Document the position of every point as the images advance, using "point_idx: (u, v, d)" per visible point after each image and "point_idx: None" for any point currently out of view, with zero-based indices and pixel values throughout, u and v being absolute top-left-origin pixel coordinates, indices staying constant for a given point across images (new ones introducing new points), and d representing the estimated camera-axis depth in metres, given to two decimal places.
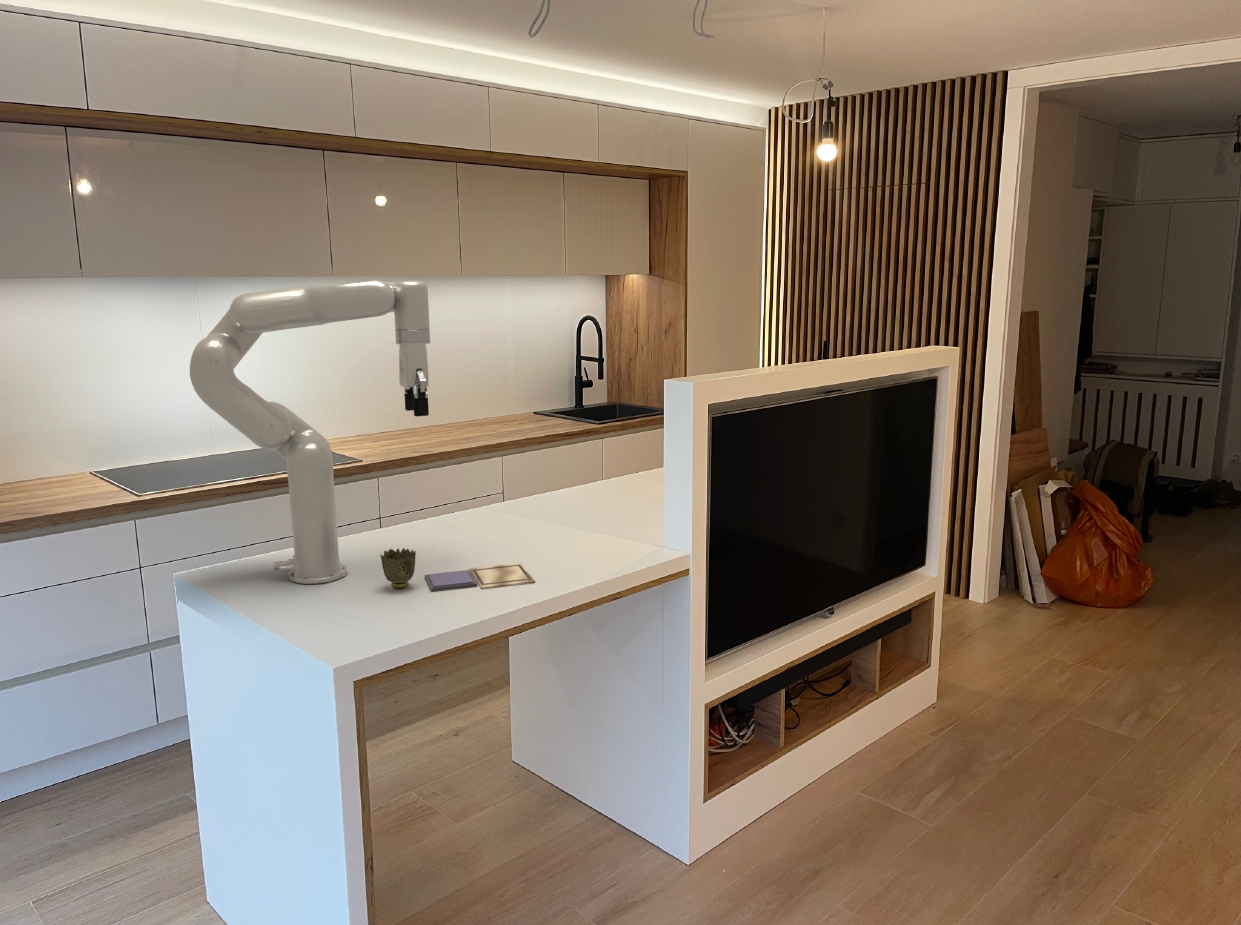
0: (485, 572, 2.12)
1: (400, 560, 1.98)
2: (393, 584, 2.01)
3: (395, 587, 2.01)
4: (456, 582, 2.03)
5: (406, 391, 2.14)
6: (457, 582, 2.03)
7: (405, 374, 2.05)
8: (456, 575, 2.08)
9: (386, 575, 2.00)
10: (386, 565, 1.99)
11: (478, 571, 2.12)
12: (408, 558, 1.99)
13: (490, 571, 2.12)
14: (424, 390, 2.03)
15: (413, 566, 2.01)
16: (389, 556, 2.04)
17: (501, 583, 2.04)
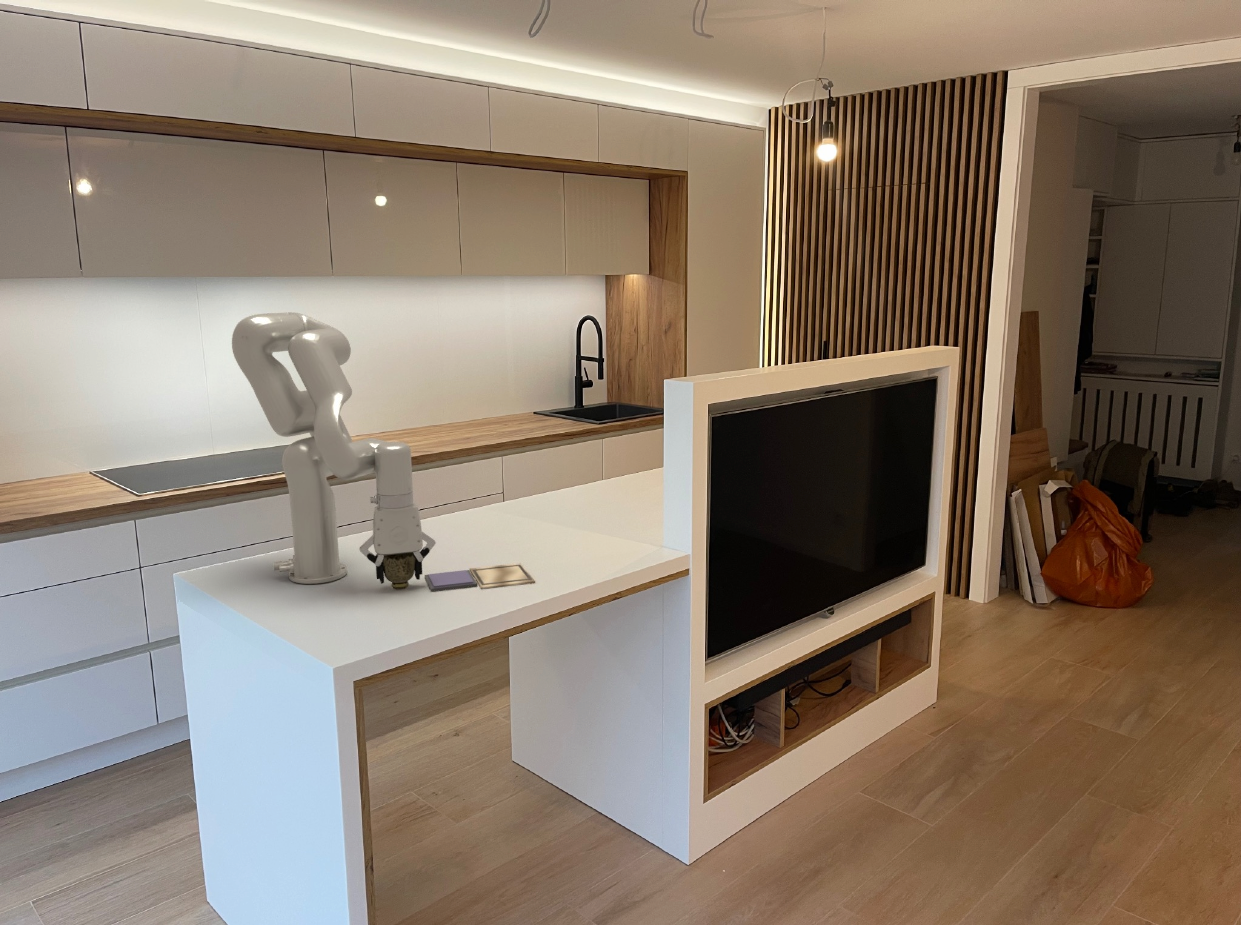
0: (485, 572, 2.12)
1: (400, 560, 1.98)
2: (393, 584, 2.01)
3: (395, 587, 2.01)
4: (456, 582, 2.03)
5: (380, 563, 1.99)
6: (457, 582, 2.03)
7: (414, 537, 1.99)
8: (456, 575, 2.08)
9: (386, 575, 2.00)
10: (386, 565, 1.99)
11: (478, 571, 2.12)
12: (408, 558, 1.99)
13: (490, 571, 2.12)
14: None
15: (413, 566, 2.01)
16: (389, 556, 2.04)
17: (501, 583, 2.04)
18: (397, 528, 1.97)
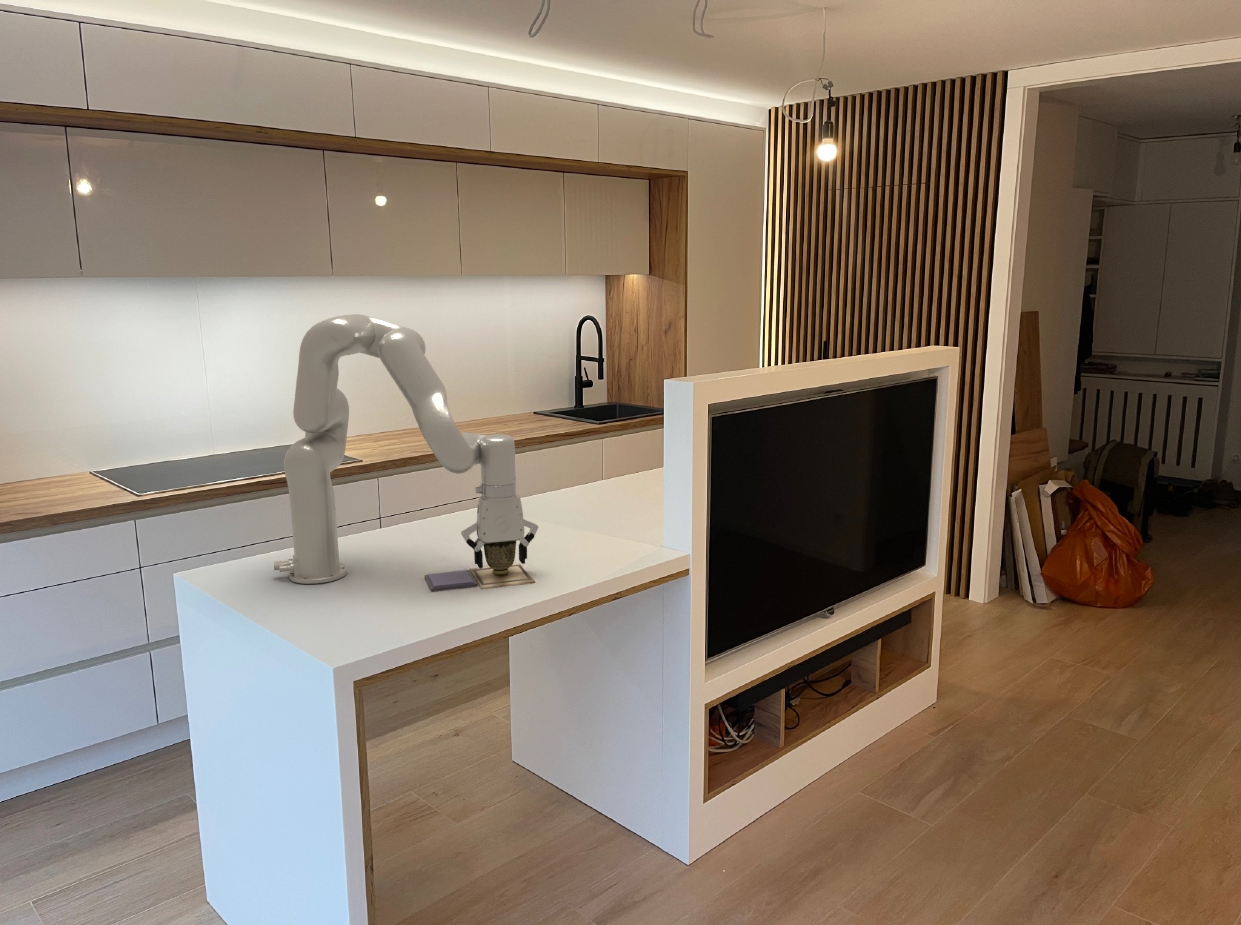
0: (485, 572, 2.12)
1: (503, 547, 2.05)
2: (495, 571, 2.08)
3: (497, 574, 2.08)
4: (456, 582, 2.03)
5: (479, 549, 2.06)
6: (457, 582, 2.03)
7: (517, 526, 2.06)
8: (456, 575, 2.08)
9: (489, 562, 2.07)
10: (489, 552, 2.06)
11: (478, 571, 2.12)
12: (510, 546, 2.06)
13: (490, 571, 2.12)
14: None
15: (514, 553, 2.08)
16: (490, 544, 2.11)
17: (501, 583, 2.04)
18: (501, 517, 2.05)
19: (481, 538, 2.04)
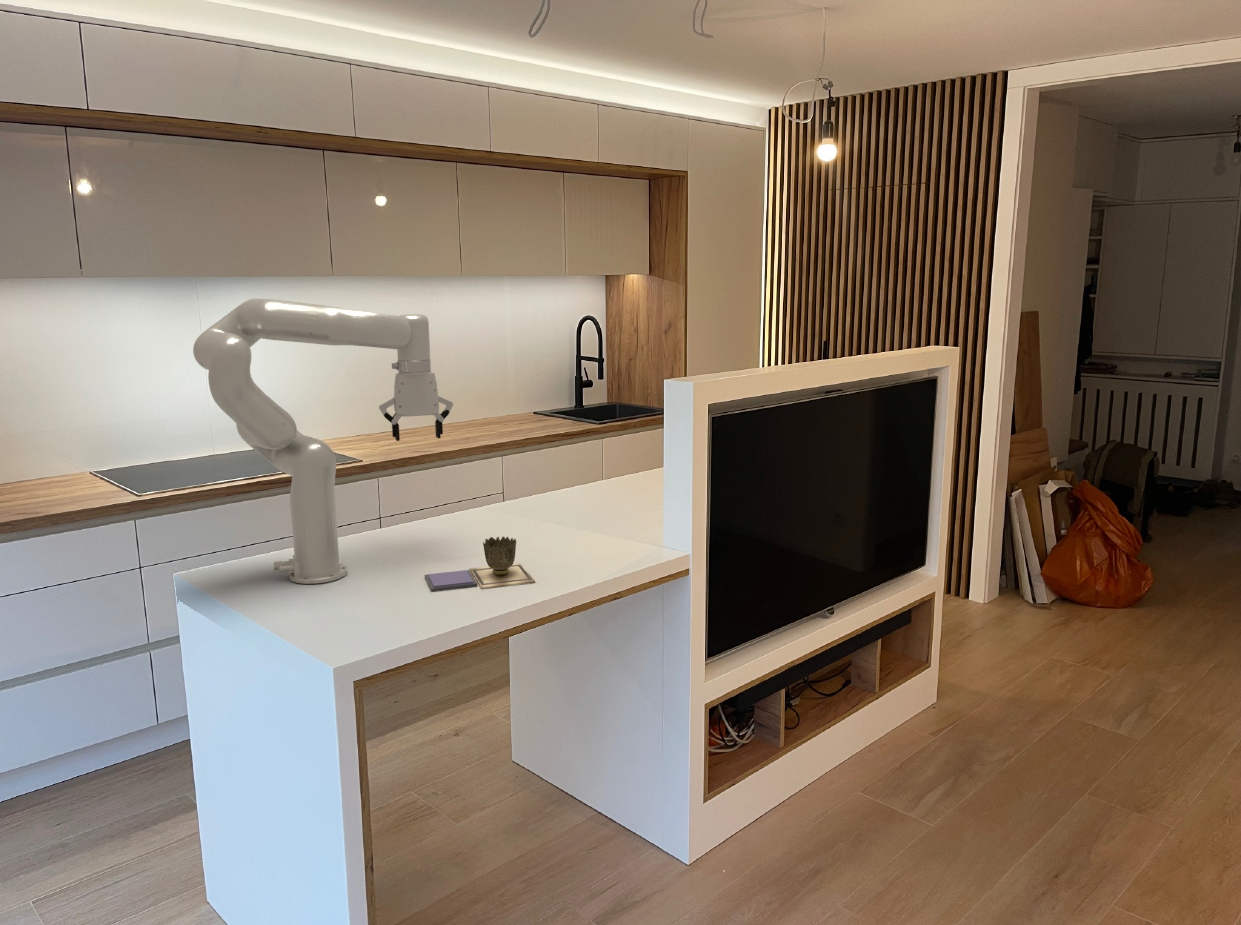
0: (485, 572, 2.12)
1: (503, 547, 2.05)
2: (495, 571, 2.08)
3: (497, 574, 2.08)
4: (456, 582, 2.03)
5: (396, 422, 2.19)
6: (457, 582, 2.03)
7: (431, 401, 2.20)
8: (456, 575, 2.08)
9: (489, 562, 2.07)
10: (489, 552, 2.06)
11: (478, 571, 2.12)
12: (510, 546, 2.06)
13: (490, 571, 2.12)
14: None
15: (514, 553, 2.08)
16: (490, 544, 2.11)
17: (501, 583, 2.04)
18: (416, 392, 2.18)
19: (397, 411, 2.18)
